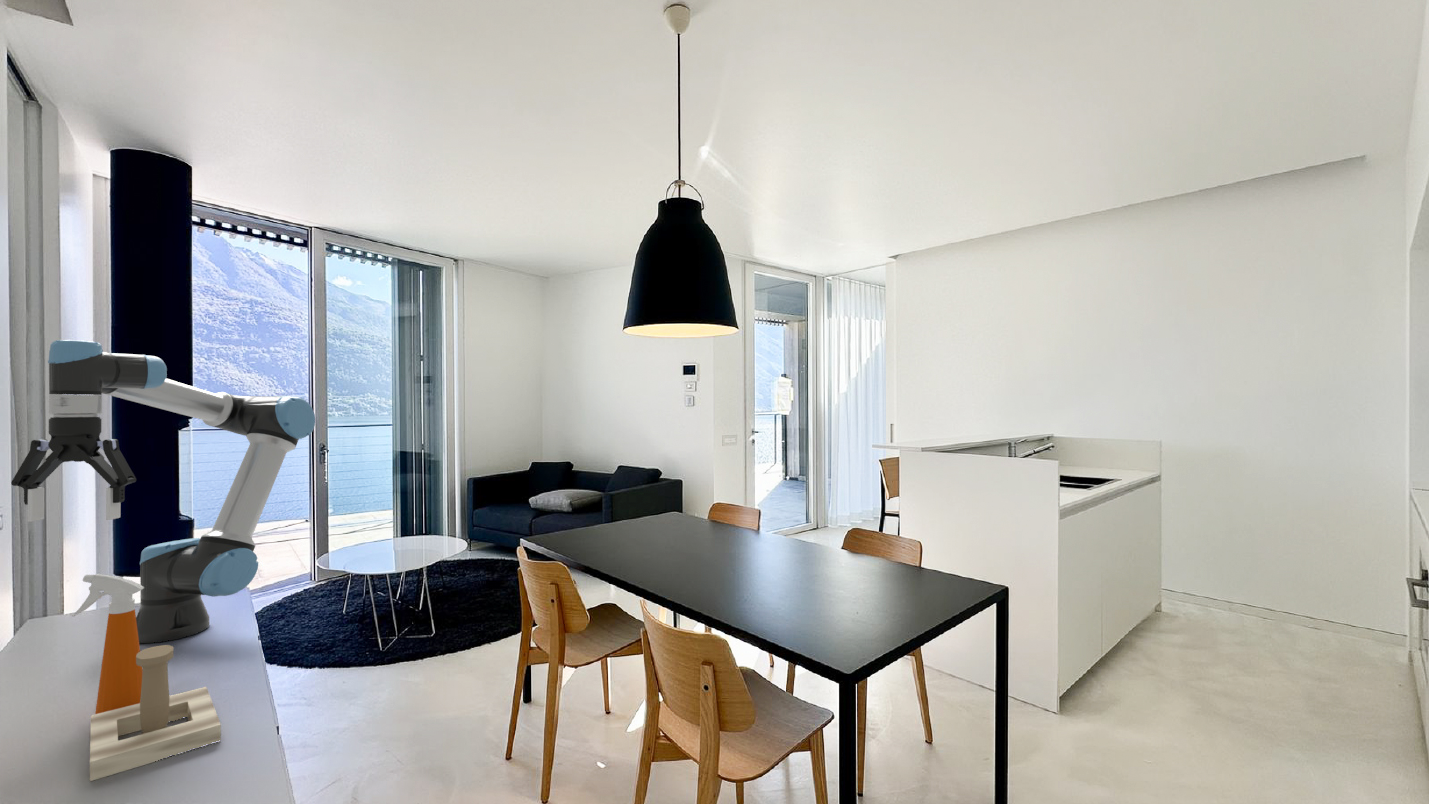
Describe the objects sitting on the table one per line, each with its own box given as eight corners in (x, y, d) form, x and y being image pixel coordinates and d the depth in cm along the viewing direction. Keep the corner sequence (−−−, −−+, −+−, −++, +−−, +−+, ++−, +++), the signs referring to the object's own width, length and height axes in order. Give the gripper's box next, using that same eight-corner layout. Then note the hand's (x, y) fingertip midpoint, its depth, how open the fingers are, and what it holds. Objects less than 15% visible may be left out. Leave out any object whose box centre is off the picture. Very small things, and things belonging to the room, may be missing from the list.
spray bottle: (83, 707, 119) (84, 570, 119) (153, 698, 123) (154, 565, 123) (59, 725, 112) (60, 580, 112) (135, 715, 116) (135, 575, 116)
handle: (134, 749, 105) (135, 661, 105) (137, 734, 110) (137, 649, 110) (172, 739, 108) (173, 653, 108) (173, 724, 113) (173, 642, 113)
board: (90, 732, 110) (90, 715, 110) (206, 701, 121) (206, 686, 121) (89, 781, 96) (89, 761, 96) (220, 741, 107) (220, 724, 107)
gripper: (-15, 416, 121) (-16, 524, 121) (131, 416, 125) (131, 521, 125) (20, 415, 128) (20, 517, 128) (158, 415, 132) (157, 514, 132)
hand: (75, 519), depth 126 cm, fingers open, 13 cm apart
